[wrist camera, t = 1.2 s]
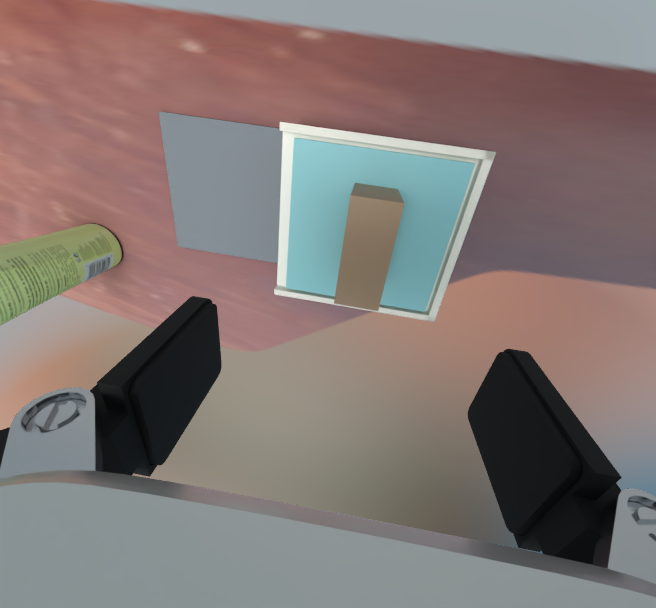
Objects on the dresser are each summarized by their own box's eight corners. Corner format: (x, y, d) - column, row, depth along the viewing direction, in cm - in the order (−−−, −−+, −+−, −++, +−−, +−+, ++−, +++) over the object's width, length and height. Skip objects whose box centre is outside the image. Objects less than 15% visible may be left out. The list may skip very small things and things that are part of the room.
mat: (286, 129, 25) (285, 129, 24) (280, 262, 31) (279, 263, 31) (160, 111, 25) (158, 111, 25) (179, 245, 31) (177, 246, 31)
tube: (66, 233, 32) (-263, 338, 16) (90, 207, 31) (-254, 296, 14) (108, 274, 34) (-144, 406, 18) (133, 252, 33) (-123, 377, 16)
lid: (471, 162, 20) (504, 172, 15) (423, 307, 26) (435, 348, 21) (296, 137, 20) (271, 138, 15) (288, 284, 26) (268, 319, 21)
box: (470, 148, 24) (496, 152, 19) (424, 291, 30) (434, 321, 25) (298, 124, 24) (279, 122, 19) (290, 268, 31) (274, 294, 26)
